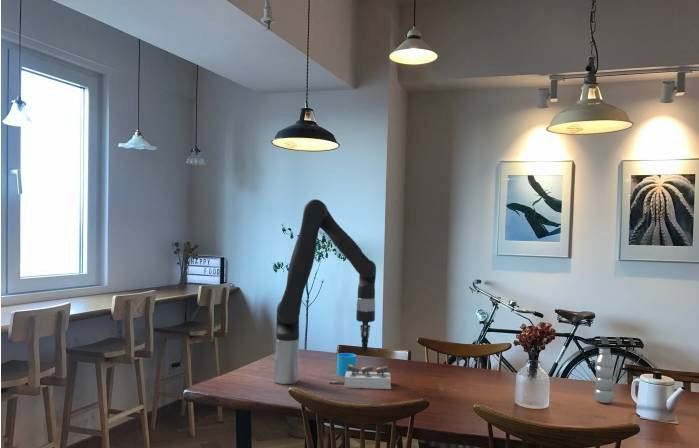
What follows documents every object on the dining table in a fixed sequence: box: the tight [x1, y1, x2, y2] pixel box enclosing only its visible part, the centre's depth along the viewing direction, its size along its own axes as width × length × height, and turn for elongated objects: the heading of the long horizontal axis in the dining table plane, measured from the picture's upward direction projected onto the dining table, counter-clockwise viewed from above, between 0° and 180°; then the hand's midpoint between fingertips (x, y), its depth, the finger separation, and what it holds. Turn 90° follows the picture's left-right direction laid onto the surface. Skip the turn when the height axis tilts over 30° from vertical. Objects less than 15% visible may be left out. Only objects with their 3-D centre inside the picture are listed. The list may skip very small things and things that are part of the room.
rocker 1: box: [348, 364, 361, 373], centre depth 216 cm, size 5×3×2 cm
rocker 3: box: [375, 365, 389, 374], centre depth 216 cm, size 5×3×2 cm
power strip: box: [329, 371, 392, 390], centre depth 215 cm, size 25×9×5 cm, turn 87°
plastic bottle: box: [593, 347, 615, 404], centre depth 199 cm, size 6×7×20 cm
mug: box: [336, 352, 357, 377], centre depth 233 cm, size 12×8×8 cm
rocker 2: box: [360, 364, 374, 374], centre depth 216 cm, size 5×3×2 cm
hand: (364, 352), depth 216 cm, fingers closed
